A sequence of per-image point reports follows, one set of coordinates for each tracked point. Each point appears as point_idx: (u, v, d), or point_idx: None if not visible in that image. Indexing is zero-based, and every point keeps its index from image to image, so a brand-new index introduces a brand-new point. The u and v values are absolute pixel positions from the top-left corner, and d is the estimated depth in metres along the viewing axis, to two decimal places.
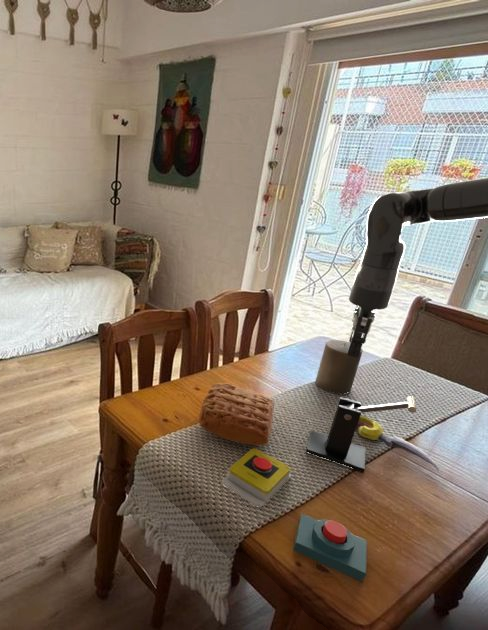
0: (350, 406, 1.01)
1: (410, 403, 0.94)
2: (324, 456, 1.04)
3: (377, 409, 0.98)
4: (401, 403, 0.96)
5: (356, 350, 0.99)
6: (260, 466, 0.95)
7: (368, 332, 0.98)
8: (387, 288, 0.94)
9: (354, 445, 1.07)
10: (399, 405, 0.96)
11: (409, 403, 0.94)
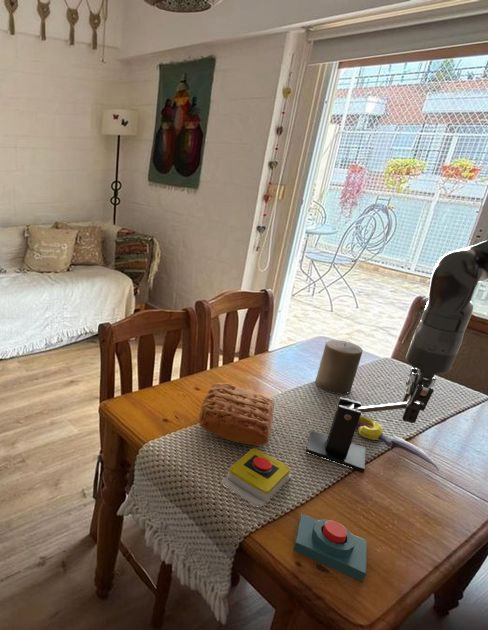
0: (350, 406, 1.01)
1: None
2: (324, 456, 1.04)
3: (377, 409, 0.98)
4: (401, 403, 0.96)
5: (413, 416, 0.92)
6: (260, 466, 0.95)
7: None
8: (452, 352, 0.86)
9: (354, 445, 1.07)
10: (399, 405, 0.96)
11: None
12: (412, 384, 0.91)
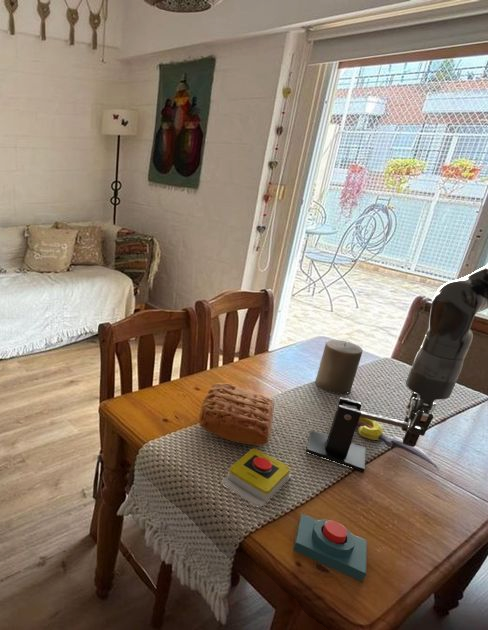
0: (353, 408, 1.01)
1: None
2: (324, 456, 1.04)
3: (378, 419, 0.99)
4: (403, 422, 0.97)
5: (413, 440, 0.93)
6: (260, 466, 0.95)
7: None
8: (452, 379, 0.87)
9: (354, 445, 1.07)
10: (401, 423, 0.96)
11: None
12: (412, 409, 0.93)
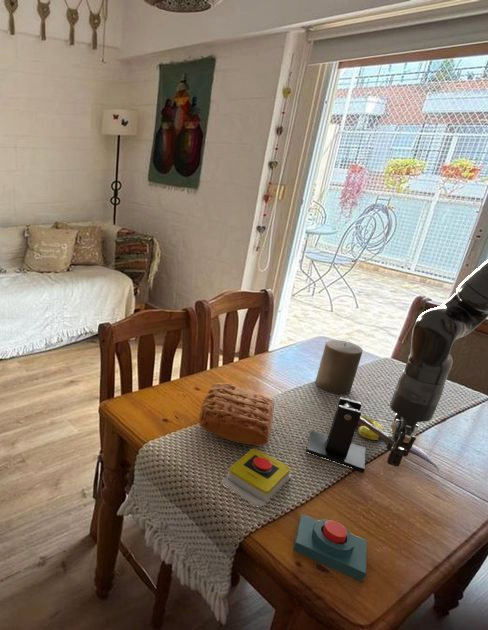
0: None
1: None
2: (324, 456, 1.04)
3: (371, 428, 1.00)
4: None
5: (397, 460, 0.96)
6: (260, 466, 0.95)
7: None
8: (433, 402, 0.90)
9: (354, 445, 1.07)
10: (390, 440, 0.99)
11: None
12: (396, 430, 0.96)
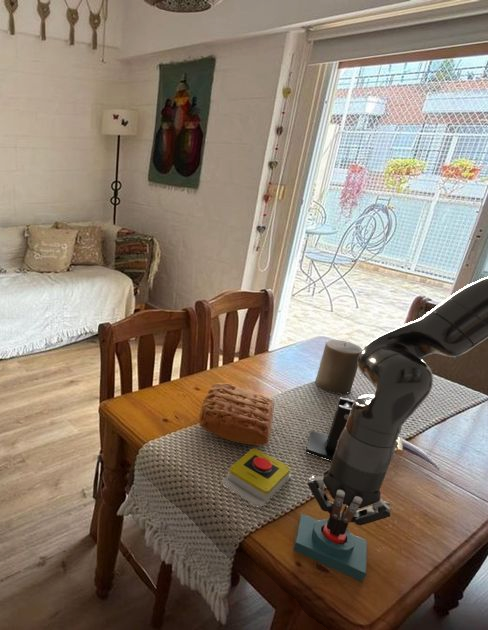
0: None
1: (401, 446, 0.98)
2: (324, 456, 1.04)
3: None
4: None
5: (328, 521, 0.79)
6: (260, 466, 0.95)
7: (333, 507, 0.77)
8: (342, 455, 0.72)
9: None
10: None
11: (400, 445, 0.98)
12: None
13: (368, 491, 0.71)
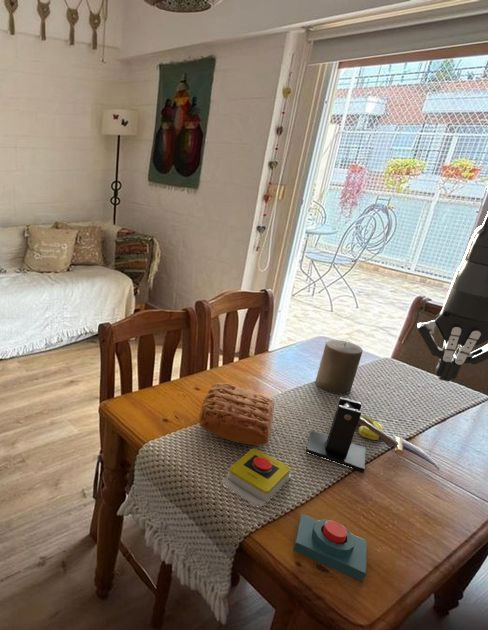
0: None
1: (401, 446, 0.98)
2: (324, 456, 1.04)
3: (371, 428, 1.00)
4: (393, 439, 0.99)
5: (437, 367, 0.79)
6: (260, 466, 0.95)
7: (446, 348, 0.76)
8: (462, 287, 0.72)
9: (354, 445, 1.07)
10: (390, 440, 0.99)
11: (400, 445, 0.98)
12: None
13: None
